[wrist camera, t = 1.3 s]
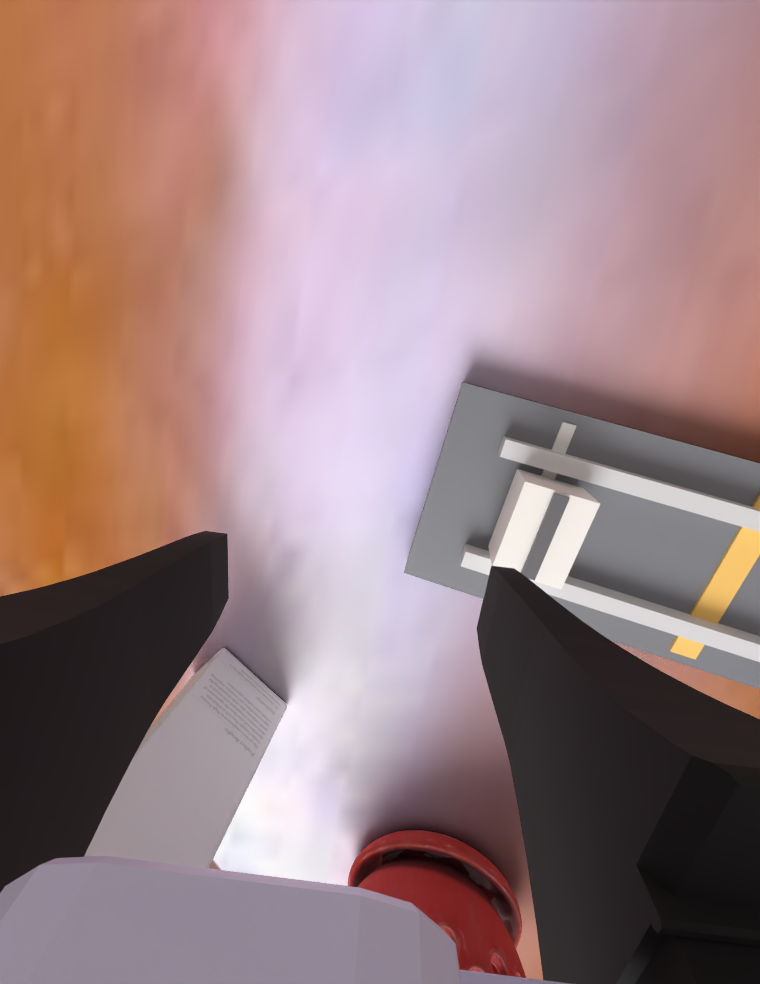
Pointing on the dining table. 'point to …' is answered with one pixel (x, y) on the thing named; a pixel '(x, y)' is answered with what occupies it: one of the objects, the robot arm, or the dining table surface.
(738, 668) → the board
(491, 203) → the dining table surface
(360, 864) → the plant pot
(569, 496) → the fader tab
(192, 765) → the skincare box
